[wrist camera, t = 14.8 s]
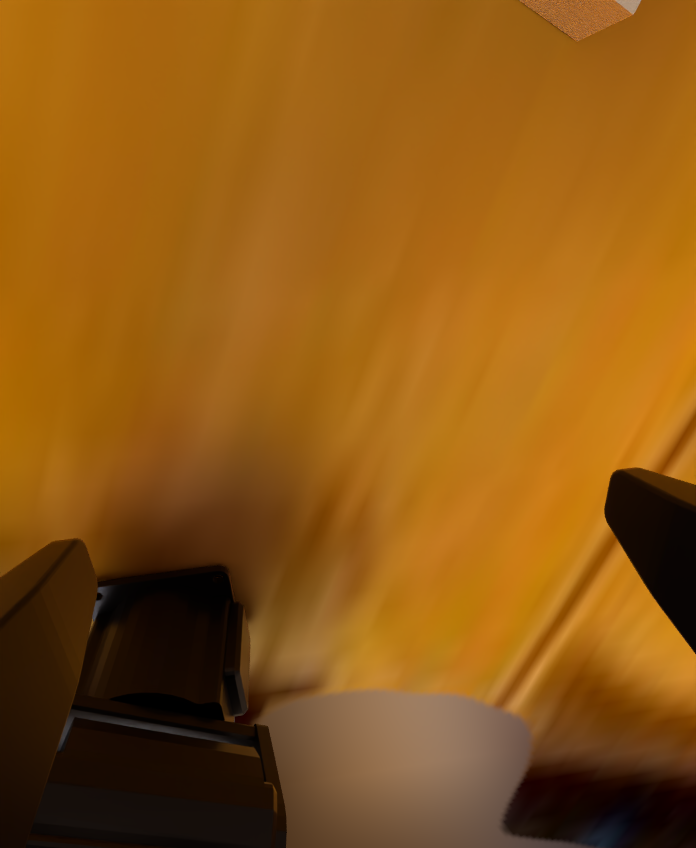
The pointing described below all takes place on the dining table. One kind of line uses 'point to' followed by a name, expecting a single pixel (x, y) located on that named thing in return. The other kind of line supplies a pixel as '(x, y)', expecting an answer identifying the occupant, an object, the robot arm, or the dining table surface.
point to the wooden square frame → (583, 14)
